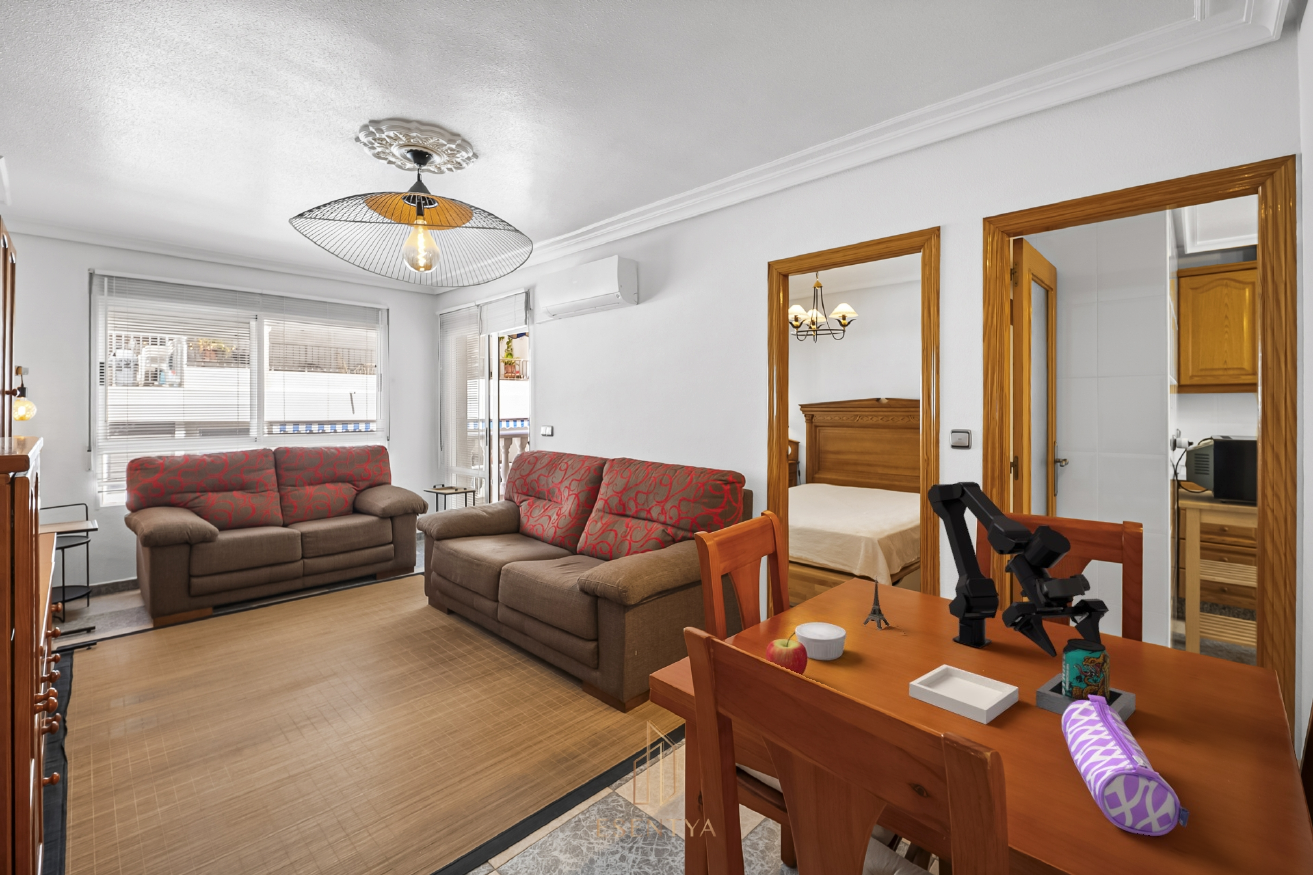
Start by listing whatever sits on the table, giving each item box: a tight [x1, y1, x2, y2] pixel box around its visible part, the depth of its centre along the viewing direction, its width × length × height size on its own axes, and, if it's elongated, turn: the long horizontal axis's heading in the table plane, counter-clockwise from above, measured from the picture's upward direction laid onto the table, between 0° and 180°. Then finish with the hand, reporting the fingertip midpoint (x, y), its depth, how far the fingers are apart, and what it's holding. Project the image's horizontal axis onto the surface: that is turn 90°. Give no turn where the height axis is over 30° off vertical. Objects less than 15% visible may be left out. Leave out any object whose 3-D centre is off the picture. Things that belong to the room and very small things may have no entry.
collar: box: [1035, 672, 1136, 724], centre depth 111 cm, size 12×12×3 cm
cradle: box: [908, 663, 1019, 725], centre depth 115 cm, size 14×14×2 cm
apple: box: [765, 631, 808, 676], centre depth 124 cm, size 8×8×10 cm
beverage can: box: [1062, 637, 1111, 706], centre depth 111 cm, size 7×7×12 cm
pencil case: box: [1061, 695, 1190, 837], centre depth 86 cm, size 22×9×10 cm, turn 160°
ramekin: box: [794, 621, 847, 661], centre depth 138 cm, size 11×11×5 cm
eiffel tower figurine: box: [862, 576, 907, 634], centre depth 156 cm, size 15×10×13 cm
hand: (1078, 655), depth 112 cm, fingers open, 9 cm apart
